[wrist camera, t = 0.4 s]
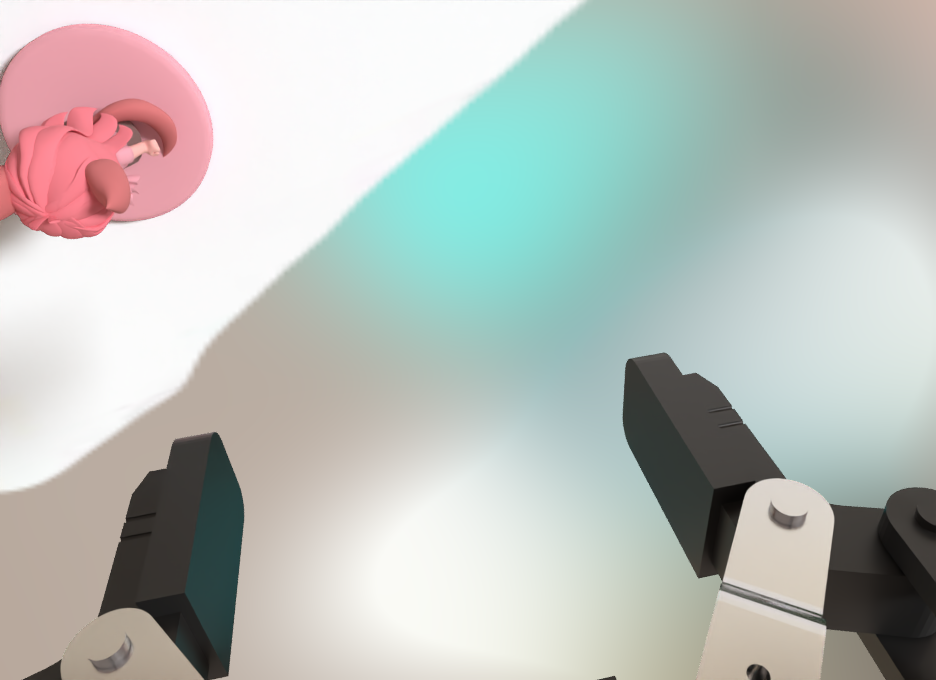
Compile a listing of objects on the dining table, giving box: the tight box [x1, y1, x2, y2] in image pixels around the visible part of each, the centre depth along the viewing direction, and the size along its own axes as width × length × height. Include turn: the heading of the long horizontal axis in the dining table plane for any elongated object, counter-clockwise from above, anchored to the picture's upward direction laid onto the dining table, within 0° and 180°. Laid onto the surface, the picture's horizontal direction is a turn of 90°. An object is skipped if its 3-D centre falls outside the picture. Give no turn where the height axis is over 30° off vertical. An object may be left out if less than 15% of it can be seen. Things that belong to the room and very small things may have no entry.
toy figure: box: [0, 24, 213, 239], centre depth 32 cm, size 10×10×12 cm
